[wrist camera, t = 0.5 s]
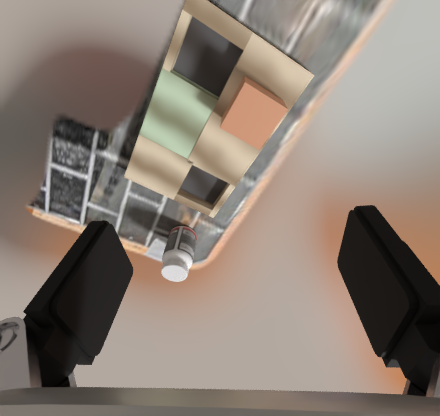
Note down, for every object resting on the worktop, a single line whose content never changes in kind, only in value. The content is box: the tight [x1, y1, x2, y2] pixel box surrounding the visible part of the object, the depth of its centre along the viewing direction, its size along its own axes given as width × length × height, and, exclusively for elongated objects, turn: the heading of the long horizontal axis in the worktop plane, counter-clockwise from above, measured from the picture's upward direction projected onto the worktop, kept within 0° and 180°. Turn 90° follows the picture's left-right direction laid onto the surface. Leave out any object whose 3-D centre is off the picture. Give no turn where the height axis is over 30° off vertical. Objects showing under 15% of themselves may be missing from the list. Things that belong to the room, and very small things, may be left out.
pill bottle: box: [161, 226, 197, 282], centre depth 48 cm, size 6×6×10 cm
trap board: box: [124, 0, 314, 218], centre depth 37 cm, size 27×17×2 cm, turn 151°
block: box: [220, 76, 288, 150], centre depth 32 cm, size 6×6×4 cm
